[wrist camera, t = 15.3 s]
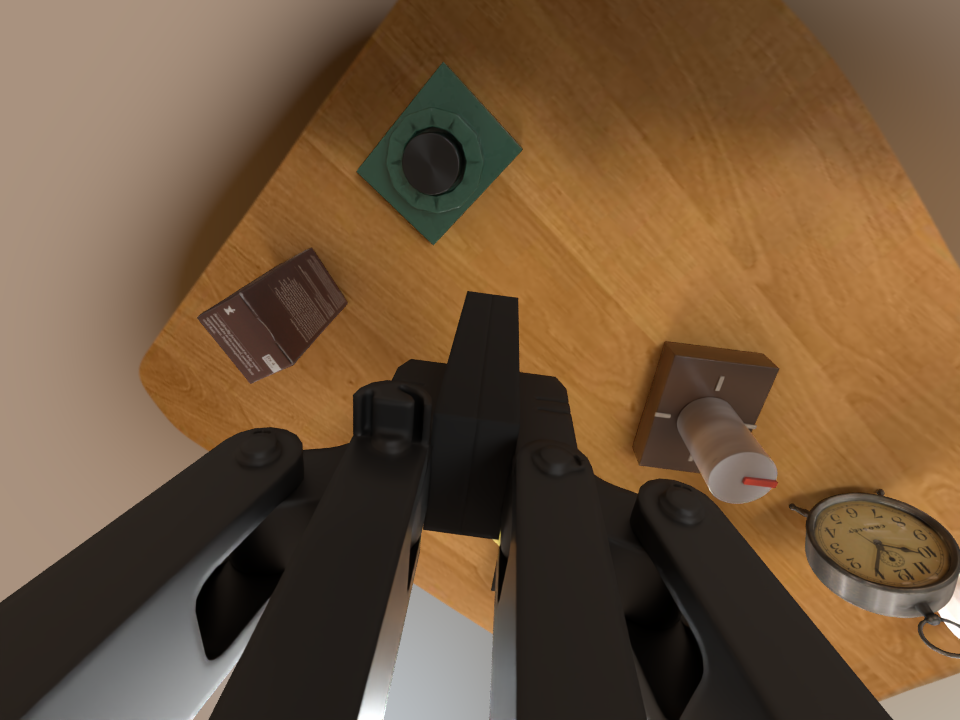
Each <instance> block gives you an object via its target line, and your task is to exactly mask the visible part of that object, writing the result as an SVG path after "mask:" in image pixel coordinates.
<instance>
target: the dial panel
mask: <svg viewBox="0 0 960 720" xmlns="http://www.w3.org/2000/svg"><path fill="white" fill-rule="evenodd" d="M778 371H779V368H778V367H777V366H776V365H775V364H774V363H773V362H772V361H771V360H770V359H769V358H768V357H766V356H765V355H764V354H762V353H754V352H746V351H738V350H730V349H722V348H714V347H707V346H699V345H691V344H683V343H675V342H667V341H666V342H665V344H664V348H663V351H662V354H661V357H660V360H659V364H658V367H657V370H656V373H655V376H654V380H653V383H652V386H651V389H650V392H649V396H648V399H647V402H646V405H645V408H644V412H643V415H642V418H641V421H640V425H639V428H638V431H637V434H636V437H635V441H634V444H633V450H634V452H635V455H636V458H637V461H638V463H639V465H640V466H647V467H655V468H663V469H671V470H679V471H686V472H694V473H700V471H699V469H698V467H697V465H696V463H695V461H694V460H693V458H692V456H691V454H690V452H689V450H688V448H687V446H686V444H685V443H684V441H683V439H682V437H681V435H680V433H679V431H678V428H677V420H678V417H679V414H680V413H681V411H682V410H683V409H684V408H685V407H686V406H687V405H688V404H690V403H691V402H693V401H695V400H697V399H701V398H706V397H714V398H719V399H722V400H724V401H726V402H727V403H728V404H730V406H731V407H732V408H733V409H734V411H735V412H736V413H737V415H738V416H739V417H740V419H741V420H742V421H743V423H744V424H745V425H746V427H747V428H748V429H749V431H750V432H752V430H753V429H756V427H757V426H756V425H755V423H756V421H757V418H758V416H759V414H760V411H761V409H762V407H763V405H764V402H765V400H766V398H767V396H768V393H769V391H770V389H771V387H772V384H773V382H774V380H775V378H776V375H777V373H778Z"/></svg>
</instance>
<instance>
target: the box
mask: <svg viewBox="0 0 960 720" xmlns="http://www.w3.org/2000/svg"><path fill="white" fill-rule="evenodd" d="M347 304H348V302H347V301H346V299H345V298H344V296H343V294H342V293H341V291H340V290H339V288H338V287H337V285H336V284H335V282H334V281H333V279H332V278H331V276H330V275H329V273H328V271H327V270H326V268H325V267H324V265H323V264H322V262H321V261H320V259H319V258H318V256H317V255H316V253H315V252H314V250H313V249H312V248H309V249H307V250H305V251H303V252H302V253H300V254H298V255H296V256H294V257H293V258H291V259H289V260H287V261H285V262H284V263H281V264H279V265H278V266H276V267H274V268H272V269H271V270H269V271H268V272H266V273H265V274H263V275H262V276H260V277H258V278H257V279H255V280H254V281H252V282H251V283H249V284H247V285H246V286H244V287H242V288H241V289H239V290H238V291H236V292H235V293H233V294H232V295H230V296H229V297H227V298H226V299H224V300H222V301H221V302H219V303H218V304H216V305H214V306H213V307H211V308H210V309H208V310H206V311H204V312H203V313H202V314H200V315H199V316H198V317H197V319H198V320H199V321H200V322H201V324H202V325H203V326H204V327H205V328H206V330H207V331H208V332H209V333H210V335H211V336H212V337H213V338H214V339H215V341H216V342H217V343H218V344H219V346H220V347H221V348H222V349H223V350H224V352H225V353H226V354H227V355H228V357H229V358H230V359H231V360H232V362H233V363H234V364H235V365H236V367H237V368H238V369H239V370H240V372H241V373H242V374H243V375H244V377H245V378H246V379H247V380H248V382H249V383H250V384H251V383H254V382H256V381H258V380H260V379H262V378H264V377H267V376H269V375H271V374H274V373H276V372H278V371H281V370H283V369H286V368H288V367H290V366H293V365H294V364H295V363H296V361H297V360H298V359H299V358H300V357H301V356H302V355H303V353H304V352H305V351H306V350H307V349H308V348H309V347H310V345H311V344H312V343H313V342H314V341H315V340H316V339H317V337H318V336H319V335H320V334H321V333H322V332H323V331H324V329H325V328H326V327H327V326H328V325H329V324H330V323H331V322H332V321H333V319H334V318H335V317H336V316H337V315H338V314H339V313H340V312H341V311H342V310H343V309H344V307H345V306H346V305H347Z"/></svg>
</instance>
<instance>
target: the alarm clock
mask: <svg viewBox="0 0 960 720" xmlns="http://www.w3.org/2000/svg"><path fill="white" fill-rule="evenodd" d="M877 494H878V495H875V494H867V493H847V494H840V495H835V496H832V497H829V498H826V499H824V500H822V501H820V502H819V503H817V504H816V505H815V506H814V507H813V508H812V509H811V510H810V511H808V510H806V509H802V508H799V507H797V506H795V505H794V504H793V503H792V504H790V505H789V508H790V509H791V510H795V511H797V512H798V513H800V514H801V515H803V516H805V517H807V520H806V541H805V551H806V557H807V560H808V562H809V565H810V567H811V568H812V570H813V572H814V573H815V574H816V576H817V577H818V578H819V579H820V580H821V582H822V583H823V584H824V585H825V586H826V587H827V588H829V589H830V590H831V591H832V592H834V593H835V594H836V595H838V596H839V597H841V598H842V599H844V600H845V601H847V602H849V603H851V604H853V605H855V606H857V607H859V608H862V609H864V610H867V611H870V612H873V613H876V614H880V615H885V616H890V617H899V618H913V617H921V616H924V617H925V619H924V620H923V621H921V622H920V623H919V625H918V632H919V635H920V637H921V639H922V640H923V641H924V643H925V644H926V645H927V646H928V647H930V648H931V649H933V650H934V651H936V652H938V653H940V654H943V655H945V656H948V657H952V658H960V654H955V653H949V652H946V651H943V650H941V649H939V648H937V647H935V646H934V645H932V644H931V643H930V642H929V641H928V640H927V639H926V638H925V636H924V634H923V631H922V628H923V626H924V625H925V623H929V624H931V625H938V624H940V622H941V621H942V622H947V623H950V624H953V625H955V626H957V627H958V628H960V624H957V623H955V622H953V621H950V620H948V619H944V618H940V617H939V616H938V615H936V614H934V613H935V612H937V611H939V610H940V609H942V608H943V607H944V606H945V605H946V604H947V603H948V602H949V601H950V600H951V598H952V596H953V593H954V590H955V587H956V584H957V580H958V577H959V574H960V549H959V546H958V544H957V543H956V541H955V539H954V538H953V536H952V535H951V534H950V533H949V532H948V531H947V530H946V529H945V528H944V527H943V526H942V525H941V524H940V523H939V522H938V521H936V520H935V519H934V518H932V517H931V516H929V515H928V514H926V513H924V512H923V511H921V510H919V509H917V508H915V507H913V506H911V505H909V504H907V503H904V502H901V501H899V500H896V499H892V498H889V497H885V496H883V495H884V494H885V493H884V491H883V490H882V489H879V490H877Z"/></svg>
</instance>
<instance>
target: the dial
mask: <svg viewBox="0 0 960 720" xmlns="http://www.w3.org/2000/svg"><path fill="white" fill-rule="evenodd" d="M677 428H678V431H679V433H680V435H681V437H682V439H683V441H684V443H685V444H686V446H687V448H688V450H689V452H690V454H691V456H692V458H693V460H694V461H695V463H696V465H697V467H698V469H699V471H700V473H701V475H702V477H703V478H704V480H705V482H706V484H707V486H708V488H709V490H710V492H711V493H712V494H713V495H714V496H715V497H716V498H718V499H719V500H721V501H724V502H727V503H733V504H741V503H747V502H751V501H754V500H756V499H758V498H760V497H762V496H763V495H765V494H766V493H767V492H768V491H769V490H770V489H771V488H776V486H777V484H778V482H777V481H776V479H777V468H776V465H775V464H774V462H773V461H772V459H771V458H770V457H769V456H768V454H767V453H766V452H765V450H764V449H763V448H762V446H761V445H760V444H759V442H758V441H757V440H756V438H755V437H754V436H753V434H752V433H751V432H750V431H749V429H748V428H747V427H746V425H745V424H744V423H743V421H742V420H741V419H740V417H739V416H738V415H737V413H736V412H735V411H734V409H733V408H732V407H731V406H730V404H728V403H727V402H726V401H724V400H722V399H719V398H714V397H706V398H701V399H697V400H695V401H693V402H691V403H690V404H688V405H687V406H686V407H685V408H684V409H683V410H682V411H681V413H680V414H679V417H678V420H677Z"/></svg>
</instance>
